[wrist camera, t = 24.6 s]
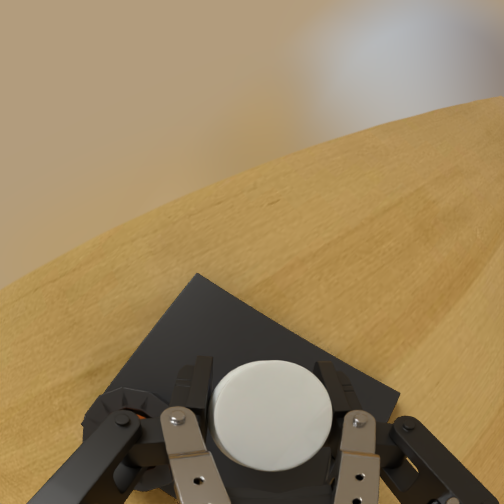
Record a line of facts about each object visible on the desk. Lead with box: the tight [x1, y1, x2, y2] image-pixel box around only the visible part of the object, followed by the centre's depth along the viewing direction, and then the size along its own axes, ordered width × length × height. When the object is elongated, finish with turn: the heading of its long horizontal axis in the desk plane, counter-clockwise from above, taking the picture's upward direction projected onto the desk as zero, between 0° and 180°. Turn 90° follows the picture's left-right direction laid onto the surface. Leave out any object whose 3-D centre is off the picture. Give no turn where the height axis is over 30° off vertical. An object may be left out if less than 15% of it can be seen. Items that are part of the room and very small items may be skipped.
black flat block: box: [81, 273, 400, 499], centre depth 16 cm, size 16×14×3 cm
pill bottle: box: [207, 360, 332, 472], centre depth 13 cm, size 5×5×8 cm
